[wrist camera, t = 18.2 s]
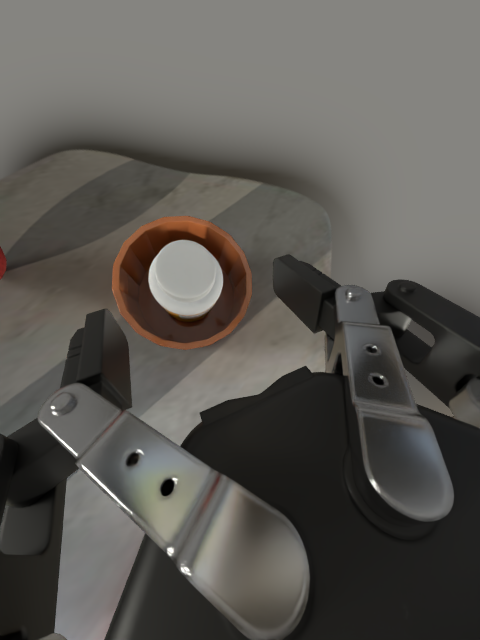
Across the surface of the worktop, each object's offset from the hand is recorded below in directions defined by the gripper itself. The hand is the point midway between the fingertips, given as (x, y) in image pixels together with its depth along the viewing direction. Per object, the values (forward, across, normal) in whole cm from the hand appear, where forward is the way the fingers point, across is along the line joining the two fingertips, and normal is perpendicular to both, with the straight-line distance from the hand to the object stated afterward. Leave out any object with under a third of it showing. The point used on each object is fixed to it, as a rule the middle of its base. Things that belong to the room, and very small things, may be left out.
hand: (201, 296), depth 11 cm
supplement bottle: (+12, 0, +8) cm, 14 cm away
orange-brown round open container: (+12, 0, +8) cm, 15 cm away
